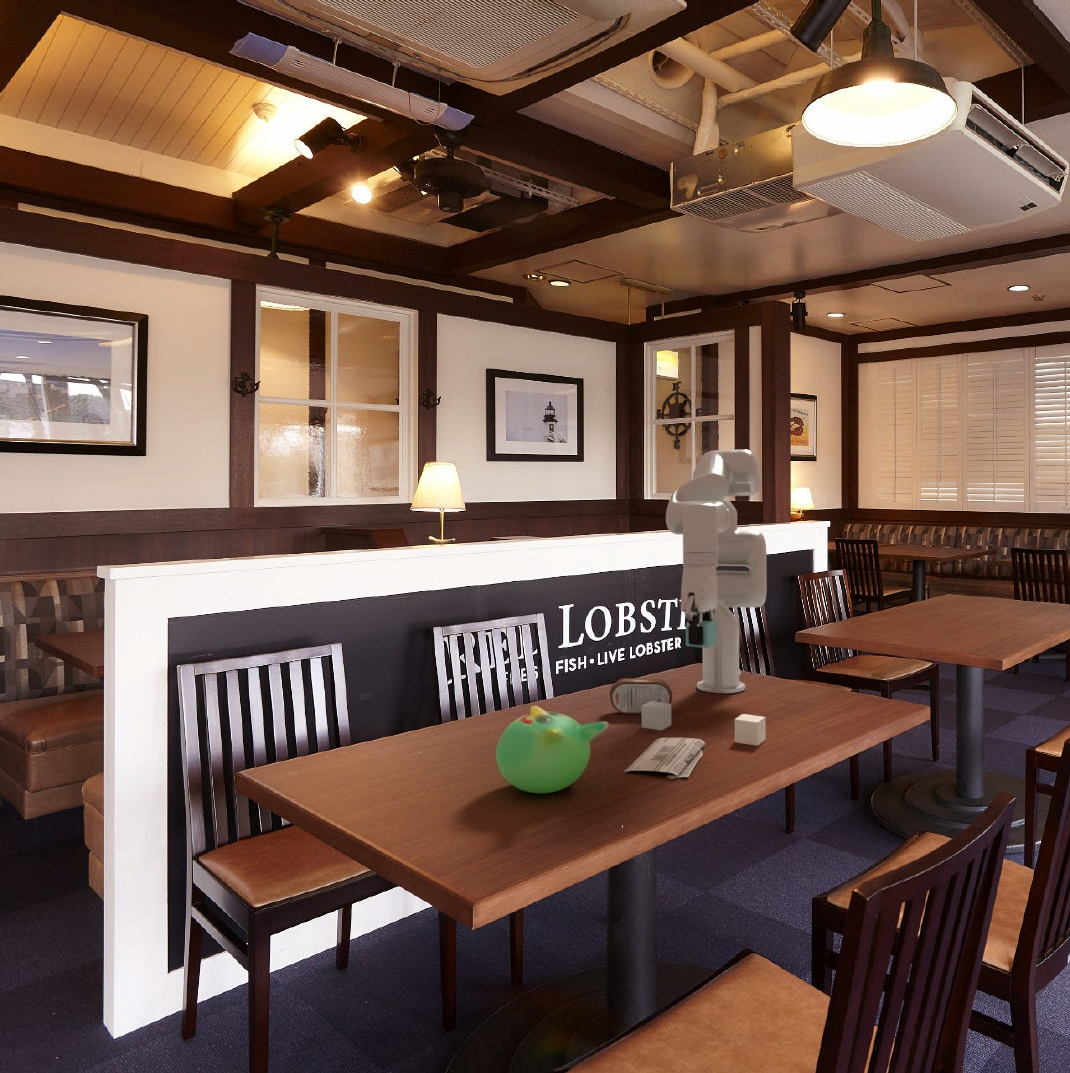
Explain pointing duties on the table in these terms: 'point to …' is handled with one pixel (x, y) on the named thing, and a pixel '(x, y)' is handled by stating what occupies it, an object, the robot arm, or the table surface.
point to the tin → (638, 694)
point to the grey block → (656, 715)
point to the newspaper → (670, 757)
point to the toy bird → (545, 750)
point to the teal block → (705, 634)
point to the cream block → (750, 729)
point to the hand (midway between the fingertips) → (701, 641)
